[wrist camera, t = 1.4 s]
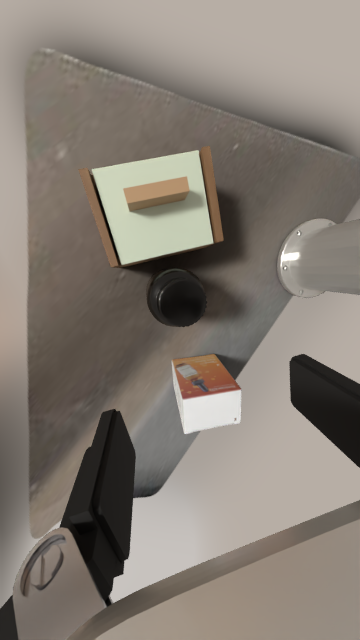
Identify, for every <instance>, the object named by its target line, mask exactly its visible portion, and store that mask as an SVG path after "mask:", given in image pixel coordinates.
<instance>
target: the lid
mask: <svg viewBox="0 0 360 640" xmlns="http://www.w3.org/2000/svg"><path fill="white" fill-rule="evenodd" d="M92 172H93V176H94V179H95V182H96V185H97V188H98V192H99V195H100V198H101V201H102V204H103V207H104V211H105V214H106V217H107V220H108V223H109V227H110V230H111V233H112V236H113V239H114V242H115V246H116V249H117V252H118V255H119V258H120V261H121V265H125V264H129V263H133V262H138V261H142V260H146V259H150V258H155V257H159V256H163V255H167V254H171V253H176V252H180V251H184V250H188V249H192V248H197V247H201V246H205V245H209V244H213V237H212V231H211V225H210V219H209V213H208V206H207V200H206V194H205V188H204V182H203V176H202V170H201V164H200V158H199V152H198V150H197V151H192V152H186V153H181V154H175V155H169V156H164V157H158V158H153V159H147V160H142V161H136V162H130V163H125V164H119V165H114V166H108V167H103V168H97V169H92Z"/></svg>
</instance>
